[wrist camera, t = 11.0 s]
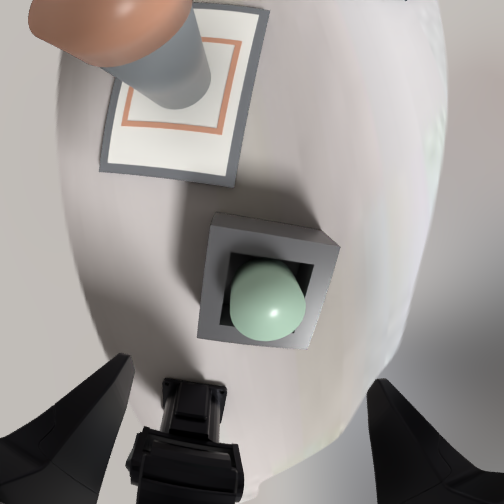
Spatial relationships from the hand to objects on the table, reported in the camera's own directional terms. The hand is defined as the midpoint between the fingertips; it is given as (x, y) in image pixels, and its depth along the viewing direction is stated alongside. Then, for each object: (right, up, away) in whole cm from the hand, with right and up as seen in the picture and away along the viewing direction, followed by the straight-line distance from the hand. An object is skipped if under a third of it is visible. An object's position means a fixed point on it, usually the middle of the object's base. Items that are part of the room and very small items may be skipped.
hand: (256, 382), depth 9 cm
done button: (+1, +2, +10) cm, 10 cm away
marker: (-5, +16, +7) cm, 18 cm away
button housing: (0, +3, +12) cm, 13 cm away
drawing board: (-5, +16, +8) cm, 19 cm away
